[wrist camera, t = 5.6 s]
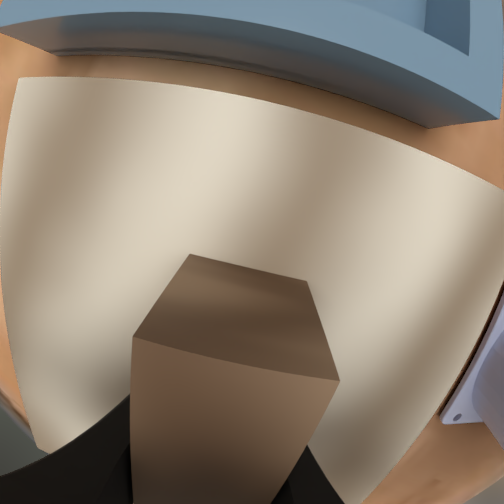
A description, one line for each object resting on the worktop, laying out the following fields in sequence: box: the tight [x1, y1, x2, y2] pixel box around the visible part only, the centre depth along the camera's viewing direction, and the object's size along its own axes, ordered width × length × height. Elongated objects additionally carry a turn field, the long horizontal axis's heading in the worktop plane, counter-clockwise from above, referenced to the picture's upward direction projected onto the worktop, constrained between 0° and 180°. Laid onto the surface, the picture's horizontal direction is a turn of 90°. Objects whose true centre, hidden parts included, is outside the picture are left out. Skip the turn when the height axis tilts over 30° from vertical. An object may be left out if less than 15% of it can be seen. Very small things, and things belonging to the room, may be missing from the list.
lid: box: [0, 77, 504, 504], centre depth 8 cm, size 16×16×5 cm
